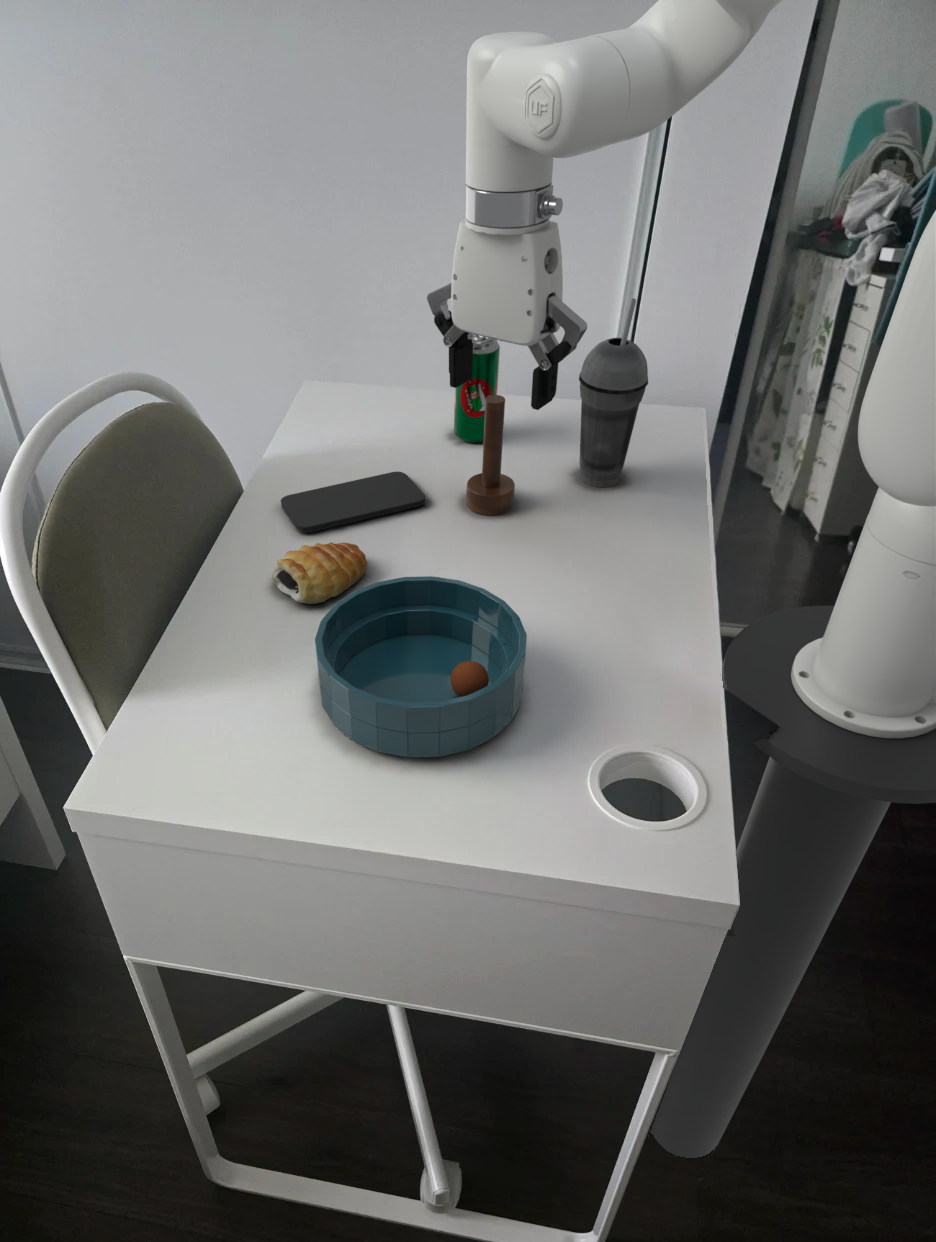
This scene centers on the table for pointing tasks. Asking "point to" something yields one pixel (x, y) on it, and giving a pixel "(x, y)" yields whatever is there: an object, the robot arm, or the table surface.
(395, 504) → the phone
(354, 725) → the bowl
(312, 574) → the pastry
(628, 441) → the beverage cup
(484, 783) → the table surface
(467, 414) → the soda can
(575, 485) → the table surface
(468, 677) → the meatball
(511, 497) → the wooden knob stand
